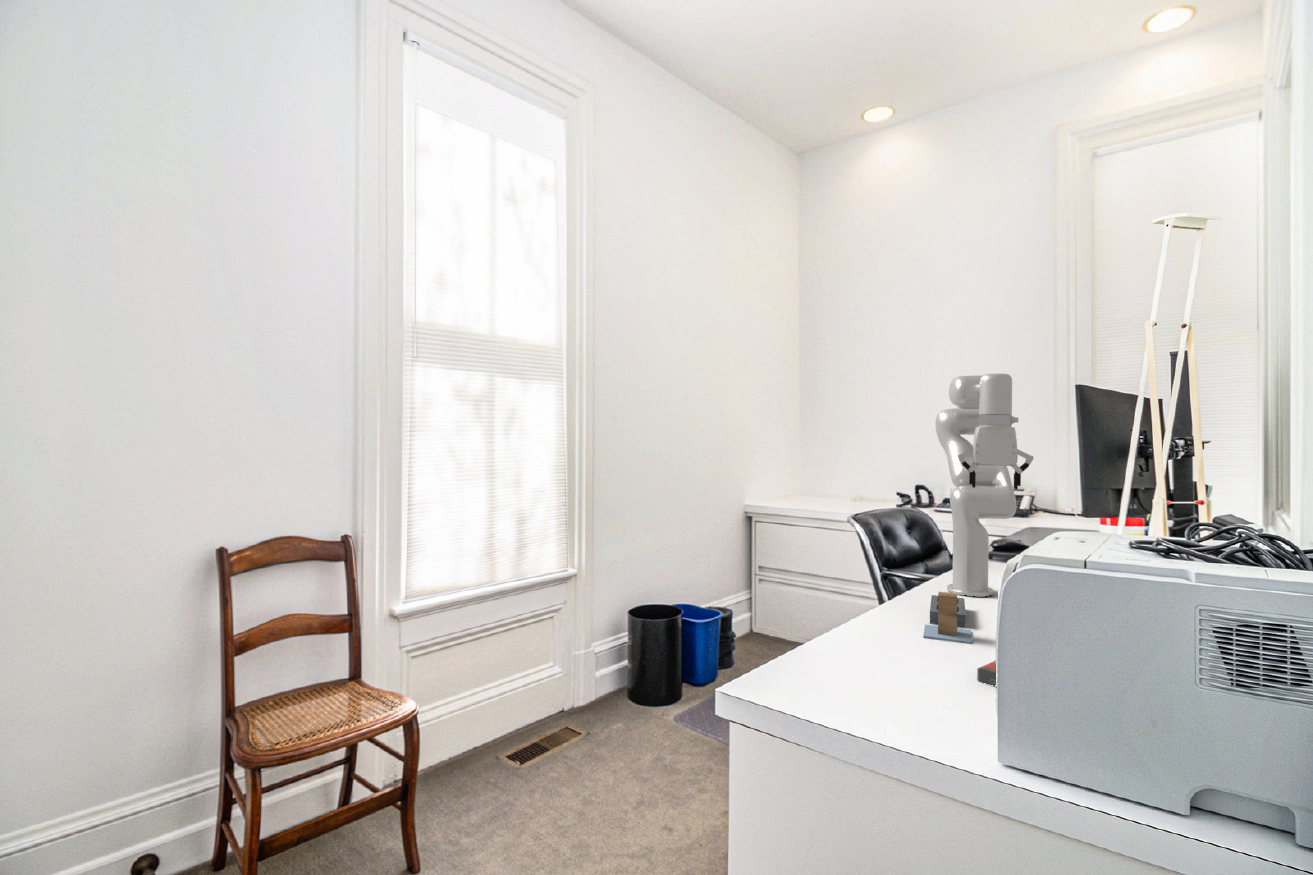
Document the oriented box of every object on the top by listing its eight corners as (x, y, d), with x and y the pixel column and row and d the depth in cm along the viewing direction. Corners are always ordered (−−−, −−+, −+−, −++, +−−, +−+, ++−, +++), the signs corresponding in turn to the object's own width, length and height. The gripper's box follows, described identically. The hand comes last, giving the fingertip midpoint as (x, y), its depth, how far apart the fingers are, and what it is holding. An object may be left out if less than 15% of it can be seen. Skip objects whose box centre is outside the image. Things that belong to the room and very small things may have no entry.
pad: (924, 626, 157) (924, 624, 157) (970, 631, 153) (970, 629, 153) (923, 637, 148) (923, 635, 148) (971, 643, 144) (971, 642, 144)
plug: (938, 629, 153) (938, 591, 153) (956, 631, 152) (957, 593, 152) (938, 634, 150) (938, 595, 150) (957, 636, 148) (957, 597, 148)
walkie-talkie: (1020, 699, 115) (1067, 675, 127) (1020, 674, 115) (1067, 652, 127) (971, 684, 122) (1020, 662, 134) (971, 660, 122) (1020, 640, 134)
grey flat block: (931, 606, 176) (931, 595, 176) (964, 609, 173) (964, 598, 173) (929, 623, 160) (929, 611, 160) (965, 627, 156) (965, 615, 156)
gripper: (1032, 422, 166) (1031, 488, 167) (958, 422, 174) (957, 485, 174) (1035, 421, 159) (1034, 490, 160) (958, 421, 167) (957, 487, 167)
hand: (994, 488), depth 167 cm, fingers open, 9 cm apart
